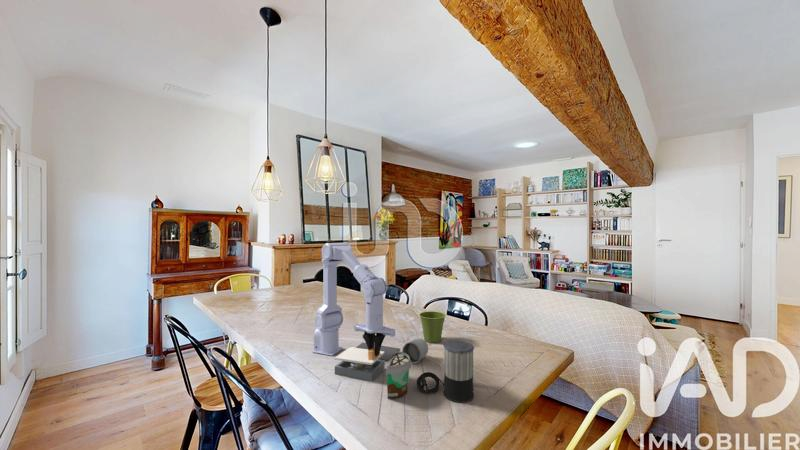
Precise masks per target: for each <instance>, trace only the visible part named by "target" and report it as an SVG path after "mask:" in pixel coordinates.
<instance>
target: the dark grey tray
mask: <svg viewBox="0 0 800 450" xmlns="http://www.w3.org/2000/svg"><path fill="white" fill-rule="evenodd" d="M385 365H386V364H385V361H384V360H377V361H376V362H375V363H373V364H372V365H367V364H360V363H354V362H347V361H341V360H340V362H339V363H338V364H336V365H334V375H337V376H341V377H346V378H350V379H351V378H352V379H357V380H362V381H366V382H373V381H374V380H375V379H376V378H377V377H379V375H380V374H381V373H382V372H383V371H384V370H385V369H386V368H385Z"/></svg>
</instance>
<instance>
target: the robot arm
mask: <svg viewBox="0 0 800 450" xmlns="http://www.w3.org/2000/svg"><path fill="white" fill-rule="evenodd" d="M342 261H343V263H345V264H346V265H347V266H348V267H349V268H350V269H351V270H352V271H353V272H352V273H353V277H354V278H355V279H356V280H357V282H358V283H359V284H360V285H361V286H362V287H361V289H362V293H363V295H364V301H365V324H359V323H357V324H355V325H354V326H353V327H354V332H361V333H362V332H363V333H364V334H362V338H363V340H364V343H366V344H367V347H368V351H369V350H370V349H372V348H373V347H374V344H375V356H378V355H379V353H380V348H381V346H383V342H384V339H386V338H385V337H386V336H389V337H392V338H393V337H395V336H396V329H394V328H391V327H387V326H384V313H383V312H384V294H386V293H387V287H388V286H387V282H386V281H385V279H384V278H383V277H379V276H376V275H375V274H374V272H372V270H371V269H370V268H369V266H368V265H367V264H361V262H360V261H359V260H358V258H357V256H356V255H354V253H353V248H352V246H351V245H350V243H349V242H347V241H345V242H332V243H330V242H326V243H325V244H323V246H322V247H321V263H322V265H323V266H322V267H323V275H322V276H323V280H322V281H323V282H322V283H323V285H322V287H323V288H322V289H323V291H322V292H323V293H322V294H323V295H322V296H323V298H322V299H323V303H322V305H321V306H320V307H319V308H318V309H317V310H316V316H315V326H316V329H315V330H314V333H313V349H312V353H315V354H320V355H325V356H326V355H327V356H334V355H336V354H338V352H340V351H342V350H343V349H344V347H343V346H339V345H340V343H339V341H340V339H339V338H340V337H339V336H340V335H339V332H340V328H341V326H342V324H343V323H344V314H343V308H342V307H341V306H340V305H338V302H337V301H338V299H337V297H338V296H337V293H338V291H337V287H338V285H337V284H338V283H337V279H338V275H337V274H338V273H337V272H338V271H337V270H338V265H339V264H340V263H341V262H342Z"/></svg>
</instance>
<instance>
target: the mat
mask: <svg viewBox="0 0 800 450" xmlns="http://www.w3.org/2000/svg"><path fill="white" fill-rule="evenodd" d="M374 346H375V344H374ZM355 348H361V349H368V347H367V344H366V342H361V343H360V344H358V345H357V346H356V347H355ZM399 350H401V349H400V347H399V348H398V347H393V346H388V345H387V346H386V345H381V348H380V351H384V352H385V353H384V354H383V355H382V356H381V357H380V358H379V359H378V360H380V361H386V362H388V361H390V360H391V358H393V357H394V356H395V351H399Z"/></svg>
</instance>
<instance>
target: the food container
mask: <svg viewBox="0 0 800 450" xmlns="http://www.w3.org/2000/svg"><path fill="white" fill-rule="evenodd" d="M390 360H391V361H390V363H389V365H387V366H386V380H387V381H386V385H387V387H386V388H387V389H386V390H387V391H386V392H387V400H389V399H390V400H394V399H396V398H397V399H401V398H403V397H404V396H406V395H407V394H408V388H409V375H410V374H409V373H410V369H411V368H412V364H411V360H410V358H409V356H408V355H407V354H406V353H404V352H402V351H399V350H398V351H395V354H394V355H393V357H392V359H390ZM400 397H401V398H400ZM397 399H396V400H397Z"/></svg>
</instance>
